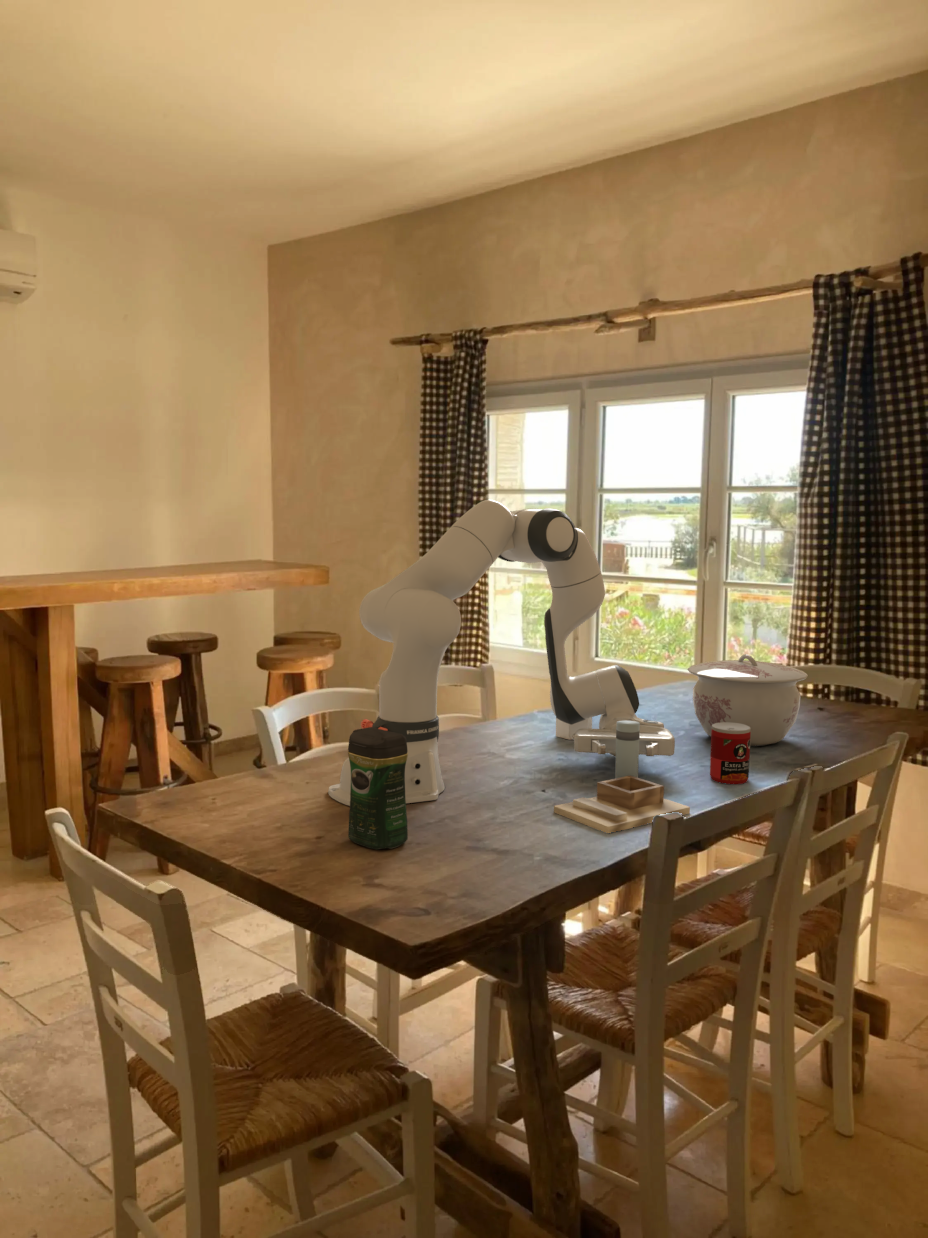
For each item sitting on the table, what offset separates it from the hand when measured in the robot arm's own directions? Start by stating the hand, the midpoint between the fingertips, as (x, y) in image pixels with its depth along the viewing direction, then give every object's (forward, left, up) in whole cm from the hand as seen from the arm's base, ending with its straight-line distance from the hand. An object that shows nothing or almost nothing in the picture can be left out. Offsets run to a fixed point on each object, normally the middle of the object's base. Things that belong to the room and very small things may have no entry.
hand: (626, 751), depth 190 cm
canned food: (+21, -8, -7) cm, 24 cm away
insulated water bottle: (-1, -1, -7) cm, 7 cm away
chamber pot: (+52, +13, -7) cm, 54 cm away
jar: (+20, +38, -7) cm, 43 cm away
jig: (-13, -12, -7) cm, 19 cm away
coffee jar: (-57, -1, -7) cm, 57 cm away
